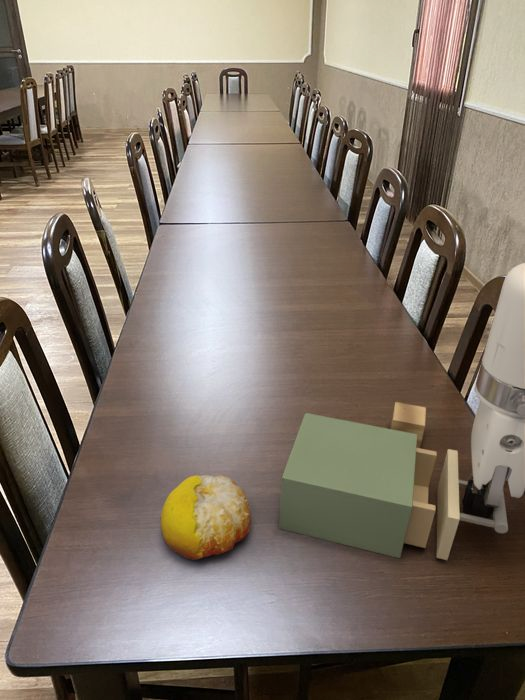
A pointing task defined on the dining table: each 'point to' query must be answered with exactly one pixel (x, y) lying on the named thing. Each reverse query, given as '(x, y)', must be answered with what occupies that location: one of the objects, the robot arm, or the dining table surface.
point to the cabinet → (349, 484)
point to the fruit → (205, 516)
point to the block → (409, 420)
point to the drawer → (443, 504)
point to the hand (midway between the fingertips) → (475, 510)
